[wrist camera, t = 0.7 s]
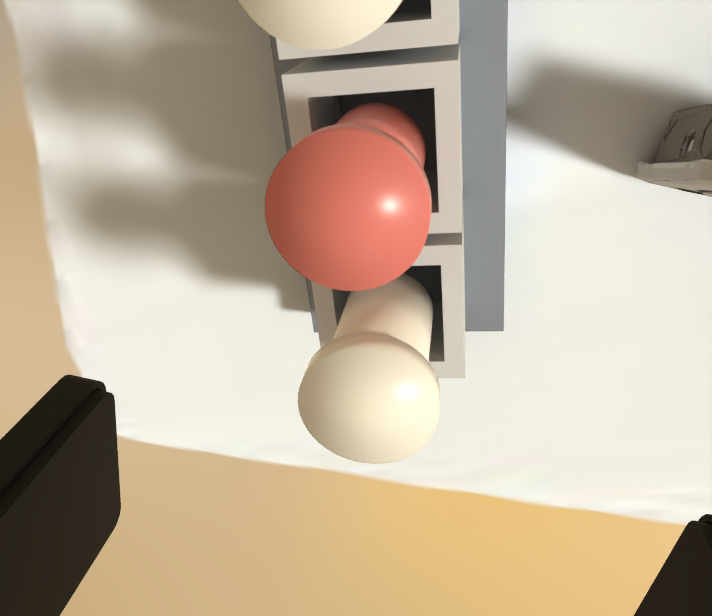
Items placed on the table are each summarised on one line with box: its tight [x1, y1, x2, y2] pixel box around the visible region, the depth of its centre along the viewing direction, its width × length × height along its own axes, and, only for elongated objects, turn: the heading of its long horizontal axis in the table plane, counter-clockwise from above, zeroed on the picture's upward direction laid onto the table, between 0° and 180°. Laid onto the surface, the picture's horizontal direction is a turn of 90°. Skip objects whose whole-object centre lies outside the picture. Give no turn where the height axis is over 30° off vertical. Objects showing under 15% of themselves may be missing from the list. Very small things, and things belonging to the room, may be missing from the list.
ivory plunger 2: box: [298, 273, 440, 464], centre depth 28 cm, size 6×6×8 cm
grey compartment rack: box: [270, 0, 508, 378], centre depth 32 cm, size 12×26×10 cm, turn 6°
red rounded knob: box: [265, 102, 432, 291], centre depth 25 cm, size 6×6×8 cm
